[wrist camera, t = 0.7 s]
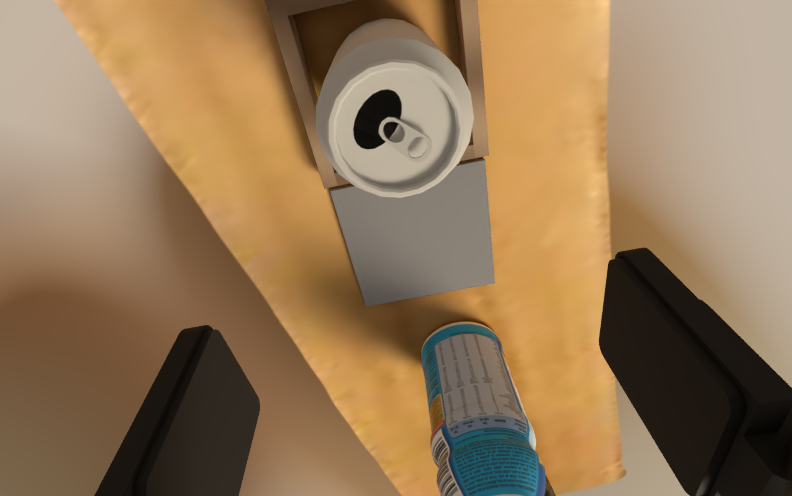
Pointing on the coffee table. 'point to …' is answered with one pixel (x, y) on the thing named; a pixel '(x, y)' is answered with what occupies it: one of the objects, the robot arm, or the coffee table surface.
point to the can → (393, 110)
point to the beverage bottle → (478, 416)
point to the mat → (419, 237)
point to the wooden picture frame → (282, 8)
